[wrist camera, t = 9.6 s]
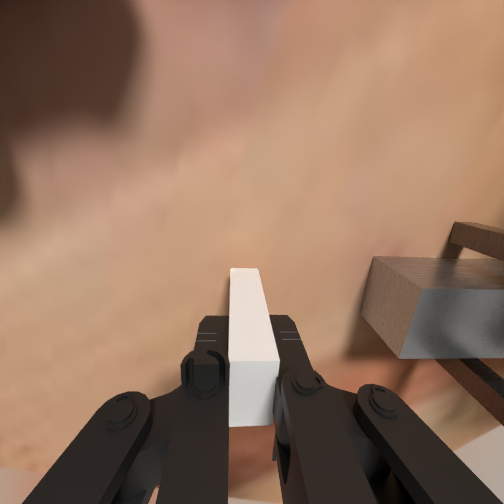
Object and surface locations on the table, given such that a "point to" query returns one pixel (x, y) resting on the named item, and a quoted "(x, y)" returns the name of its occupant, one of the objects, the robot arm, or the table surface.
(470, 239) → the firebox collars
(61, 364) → the table surface
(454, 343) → the grey sharpening stone
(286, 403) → the robot arm
